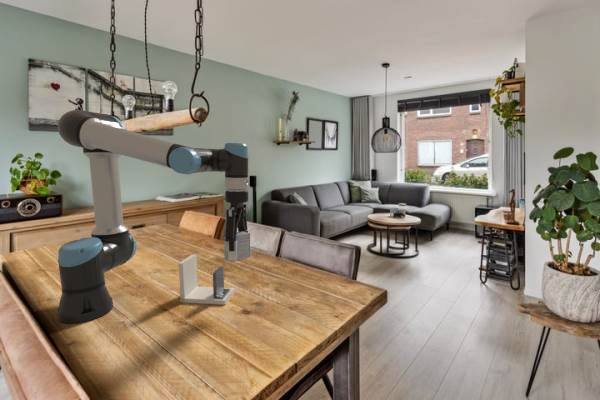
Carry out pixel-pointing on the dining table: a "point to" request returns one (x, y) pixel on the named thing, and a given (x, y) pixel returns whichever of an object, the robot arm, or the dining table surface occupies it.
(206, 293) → the white l-shaped stand
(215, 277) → the bookend
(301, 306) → the dining table surface
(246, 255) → the medicine box
